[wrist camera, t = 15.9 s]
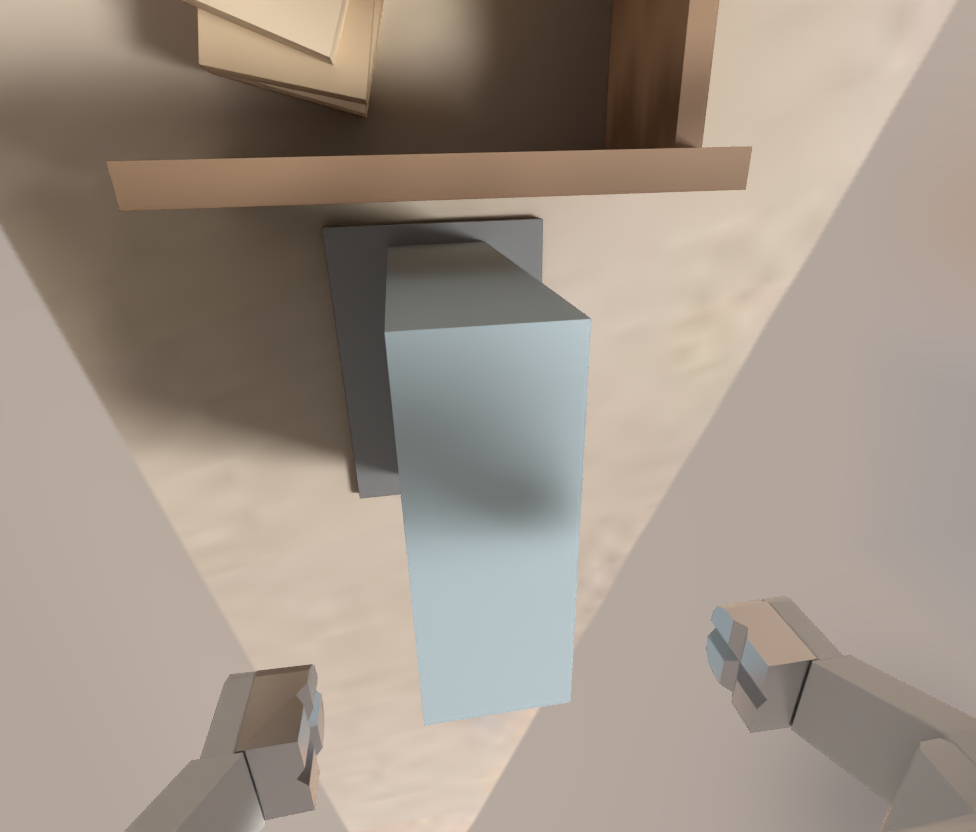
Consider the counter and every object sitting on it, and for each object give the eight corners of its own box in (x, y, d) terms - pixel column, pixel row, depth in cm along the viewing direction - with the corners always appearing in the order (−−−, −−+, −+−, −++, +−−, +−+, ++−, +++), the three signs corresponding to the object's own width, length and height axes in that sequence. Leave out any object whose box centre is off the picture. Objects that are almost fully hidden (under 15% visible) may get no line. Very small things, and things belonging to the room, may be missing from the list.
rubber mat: (323, 227, 25) (322, 227, 24) (540, 218, 26) (542, 219, 26) (360, 493, 31) (359, 498, 30) (536, 475, 32) (539, 479, 31)
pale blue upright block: (387, 245, 25) (384, 331, 12) (485, 241, 26) (591, 318, 12) (408, 475, 30) (424, 725, 16) (490, 467, 31) (570, 702, 17)
